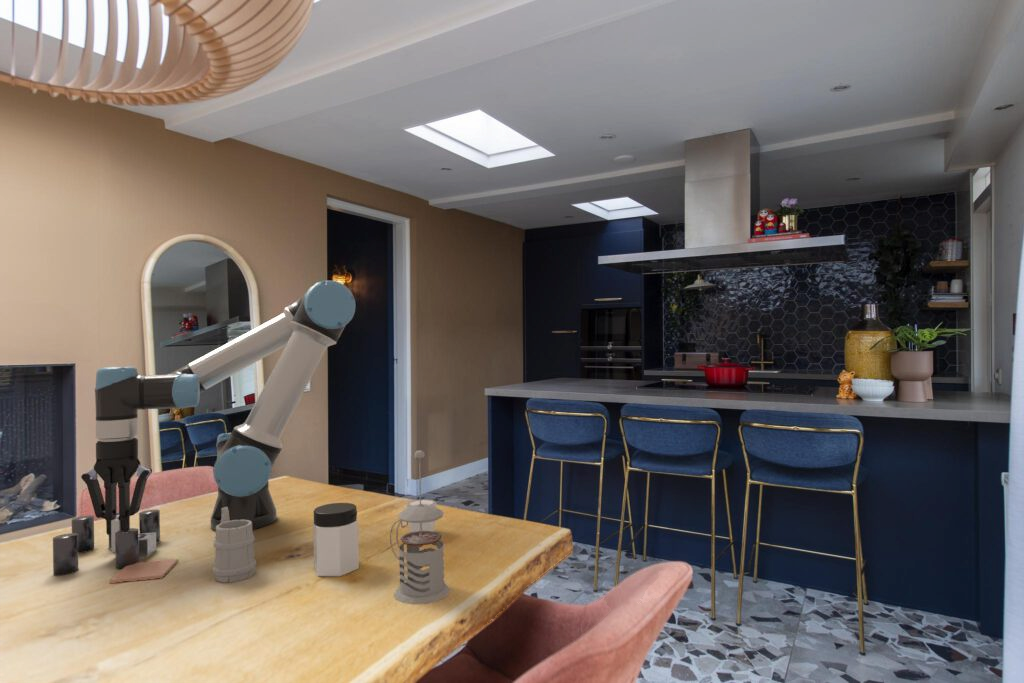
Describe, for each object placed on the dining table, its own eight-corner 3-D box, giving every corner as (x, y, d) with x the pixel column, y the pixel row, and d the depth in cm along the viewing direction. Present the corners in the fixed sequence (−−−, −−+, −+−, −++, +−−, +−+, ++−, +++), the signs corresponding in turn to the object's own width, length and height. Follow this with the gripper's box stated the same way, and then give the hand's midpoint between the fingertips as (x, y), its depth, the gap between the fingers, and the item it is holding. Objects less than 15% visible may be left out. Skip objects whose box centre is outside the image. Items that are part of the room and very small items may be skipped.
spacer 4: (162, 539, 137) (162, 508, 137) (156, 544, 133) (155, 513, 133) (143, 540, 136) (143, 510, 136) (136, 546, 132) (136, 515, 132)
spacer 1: (82, 566, 120) (81, 532, 120) (72, 574, 116) (71, 538, 116) (59, 568, 119) (59, 534, 119) (49, 576, 115) (48, 540, 115)
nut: (156, 550, 130) (156, 531, 130) (147, 558, 125) (147, 538, 125) (131, 552, 129) (130, 533, 129) (121, 560, 124) (120, 540, 124)
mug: (219, 586, 108) (218, 521, 108) (202, 569, 117) (200, 509, 117) (262, 575, 113) (261, 512, 113) (242, 559, 122) (241, 501, 122)
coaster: (177, 561, 122) (177, 558, 122) (162, 578, 113) (162, 575, 113) (129, 566, 120) (129, 563, 120) (109, 583, 111) (109, 580, 111)
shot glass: (401, 535, 135) (400, 505, 135) (417, 527, 142) (416, 497, 142) (427, 538, 133) (427, 507, 133) (442, 529, 139) (441, 500, 139)
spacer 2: (97, 545, 133) (97, 514, 133) (89, 551, 129) (88, 519, 129) (77, 547, 132) (77, 516, 132) (68, 553, 128) (67, 521, 128)
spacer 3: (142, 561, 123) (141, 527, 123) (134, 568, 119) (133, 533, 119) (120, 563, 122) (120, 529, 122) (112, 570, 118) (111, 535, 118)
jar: (362, 572, 114) (361, 510, 114) (318, 580, 110) (317, 516, 110) (353, 558, 122) (352, 499, 122) (312, 565, 118) (310, 505, 118)
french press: (425, 608, 97) (422, 457, 97) (374, 594, 103) (371, 452, 104) (461, 587, 106) (458, 447, 106) (412, 575, 112) (409, 443, 112)
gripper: (157, 434, 131) (158, 540, 131) (91, 437, 128) (91, 546, 128) (144, 439, 124) (145, 552, 124) (73, 442, 121) (74, 557, 121)
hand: (118, 548), depth 126 cm, fingers closed
